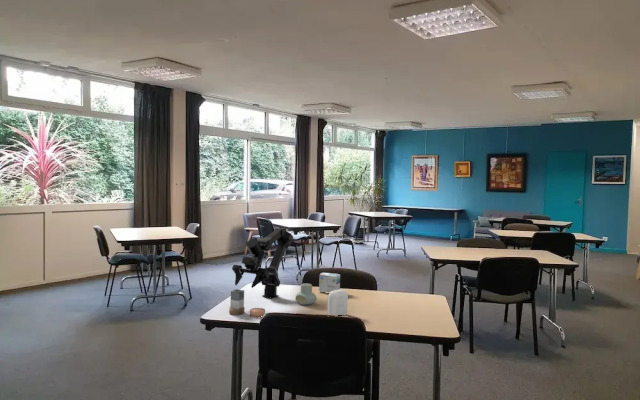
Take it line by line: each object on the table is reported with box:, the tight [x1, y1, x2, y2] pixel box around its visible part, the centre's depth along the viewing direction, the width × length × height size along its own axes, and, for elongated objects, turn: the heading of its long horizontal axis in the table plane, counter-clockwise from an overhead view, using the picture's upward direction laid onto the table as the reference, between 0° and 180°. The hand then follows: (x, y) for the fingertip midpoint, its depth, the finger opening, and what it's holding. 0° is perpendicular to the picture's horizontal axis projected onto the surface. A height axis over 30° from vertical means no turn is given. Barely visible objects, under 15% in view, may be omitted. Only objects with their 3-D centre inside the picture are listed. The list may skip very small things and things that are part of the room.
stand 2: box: [249, 307, 266, 319], centre depth 203 cm, size 7×7×2 cm
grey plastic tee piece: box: [295, 283, 317, 306], centre depth 225 cm, size 11×8×10 cm
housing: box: [229, 288, 245, 310], centre depth 205 cm, size 4×4×8 cm
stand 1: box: [228, 306, 246, 316], centre depth 205 cm, size 7×7×2 cm
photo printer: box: [326, 288, 349, 316], centre depth 208 cm, size 10×4×12 cm, turn 123°
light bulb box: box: [318, 272, 341, 292], centre depth 249 cm, size 11×7×11 cm, turn 69°
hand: (243, 286), depth 210 cm, fingers open, 9 cm apart
